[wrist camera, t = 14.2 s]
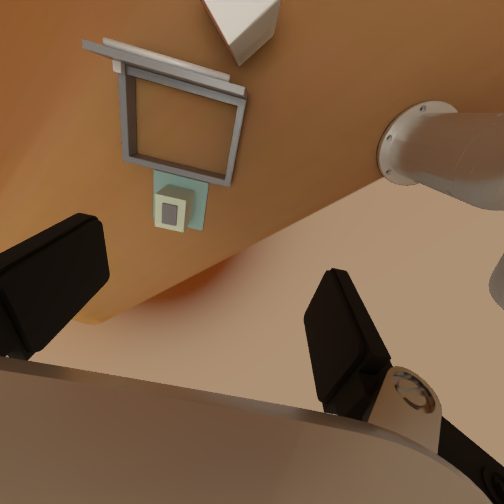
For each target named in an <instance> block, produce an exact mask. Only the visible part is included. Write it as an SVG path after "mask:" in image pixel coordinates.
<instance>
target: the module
mask: <svg viewBox="0 0 504 504" xmlns="http://www.w3.org/2000/svg"><path fill="white" fill-rule="evenodd" d="M194 192H195V190H191V189H187V188H183V187H178V186H174V185H170V184H167V185H166V186H165V187H163V188H162V189H161V190H159V191H158V192H157V193H156V194H155V226H156V227H160V228H165V229H170V230H174V231H179V232H184V231H185V229H186V228H187V226H188V224H189V223H190V221H191V220H192V212H193V202H194Z"/></svg>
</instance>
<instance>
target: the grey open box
mask: <svg viewBox="0 0 504 504" xmlns="http://www.w3.org/2000/svg"><path fill="white" fill-rule="evenodd" d="M103 43H104V45H100V44H97V43H94V42H90V41H87V40H83V39H82V44H83V49H85V50H88V51H91V52H93V53H96V54H99V55H101V56H104V57H107V58H109V59H112V60H113V71H115V72H118V84H119V102H120V119H121V137H122V154H123V161H124V162H129V163H133V164H137V165H141V166H145V167H149V168H153V169H157V170H161V171H165V172H169V173H173V174H177V175H181V176H185V177H189V178H193V179H198V180H202V181H206V182H210V183H214V184H218V185H222V186H226V187H230V185H231V182H232V176H233V171H234V166H235V161H236V155H237V150H238V145H239V140H240V134H241V129H242V124H243V119H244V113H245V108H246V103H247V98H248V93H247V90H246V88H245V87H242V86H239V85H236V84H232V83H229V81H230V75H229V74H226V73H222V72H219V71H216V70H212V69H209V68H206V67H202V66H199V65H196V64H192V63H189V62H186V61H182V60H179V59H176V58H172V57H169V56H166V55H162V54H159V53H156V52H152V51H149V50H146V49H142V48H139V47H136V46H132V45H129V44H126V43H122V42H119V41H116V40H112V39H109V38H106V37H104V38H103ZM124 64H125V65H124ZM135 77H138V78H141V79H145V80H148V81H152V82H155V83H159V84H162V85H166V86H169V87H173V88H176V89H180V90H183V91H187V92H190V93H194V94H197V95H201V96H204V97H208V98H211V99H215V100H218V101H222V102H225V103H229V104H232V105H236V106H238V108H237V114H236V119H235V125H234V131H233V137H232V142H231V148H230V154H229V159H228V165H227V171H226V176H224V175H220V174H216V173H212V172H208V171H204V170H200V169H196V168H192V167H188V166H184V165H180V164H176V163H172V162H168V161H164V160H160V159H157V158H153V157H149V156H145V155H141V154H137V126H136V86H135Z"/></svg>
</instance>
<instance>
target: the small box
mask: <svg viewBox="0 0 504 504" xmlns="http://www.w3.org/2000/svg"><path fill="white" fill-rule="evenodd" d="M201 2H202V4H203V6H204V8H205V9H206V11H207V13H208V15H209V16H210V18H211V20H212V21H213V23H214V25H215V27H216V29H217V30H218V32H219V34H220V36H221V37H222V39H223V41H224V43H225V44H226V46H227V48H228V50H229V52H230V53H231V55H232V57H233V59H234V61H235V62H236V64H237V66H238V67H239V66H241V65H242V64H243V63H244V62H245V61H246V60H247V59H248V58H249V57H251V56H252V55H253V54H254V53H255V52H256V51H257V50H258V49H259V48H261V47H262V46H263V45H264V44H265V43H266V42H267V41H268V40H269V39H271V38H272V37H273V36H274V32H275V27H276V23H277V18H278V13H279V8H280V3H281V0H201Z"/></svg>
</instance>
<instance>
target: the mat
mask: <svg viewBox="0 0 504 504" xmlns="http://www.w3.org/2000/svg"><path fill="white" fill-rule="evenodd" d="M167 184H170V185H174V186H178V187H183V188H187V189H191V190H195V192H194V202H193V212H192V220H191V221H190V223H189V224H188V226H187V227H188V228H192V229H197V230H201V231H202V230H203V223H204V216H205V209H206V202H207V195H208V187H209V183H207V182H203V181H199V180H195V179H191V178H187V177H183V176H179V175H175V174H171V173H167V172H163V171H159V170H154V197H153V220H155V194H156V193H157V192H158V191H159V190H161V189H162V188H163V187H165V186H166V185H167Z"/></svg>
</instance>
